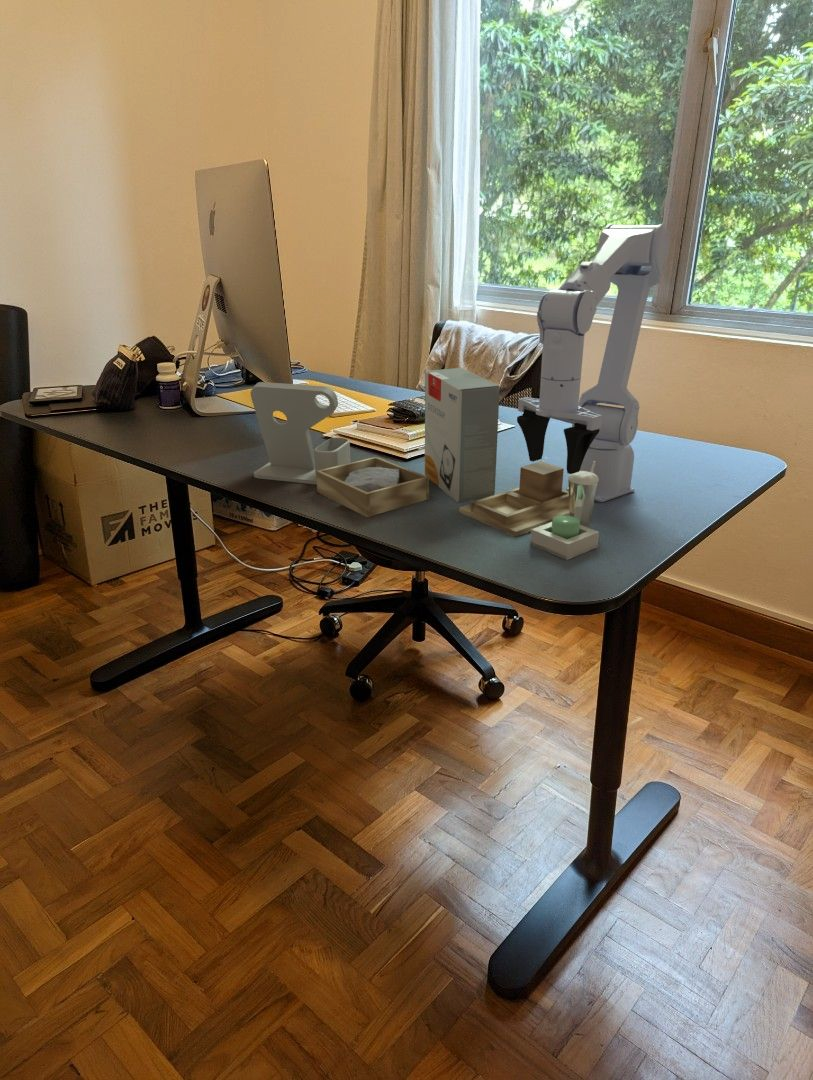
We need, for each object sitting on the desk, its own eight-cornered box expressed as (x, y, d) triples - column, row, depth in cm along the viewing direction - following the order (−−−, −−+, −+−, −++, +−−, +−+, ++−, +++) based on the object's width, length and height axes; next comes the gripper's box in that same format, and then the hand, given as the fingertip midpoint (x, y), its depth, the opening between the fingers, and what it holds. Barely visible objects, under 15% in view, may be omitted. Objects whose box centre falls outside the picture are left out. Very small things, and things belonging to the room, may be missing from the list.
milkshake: (601, 524, 119) (607, 464, 115) (584, 534, 115) (590, 473, 111) (576, 517, 122) (581, 458, 118) (558, 527, 118) (563, 466, 114)
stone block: (344, 516, 126) (401, 505, 125) (337, 490, 125) (395, 478, 124) (351, 494, 137) (404, 484, 136) (344, 470, 136) (398, 459, 135)
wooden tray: (376, 477, 141) (376, 456, 139) (428, 499, 130) (429, 477, 128) (317, 492, 133) (316, 470, 131) (367, 517, 122) (366, 494, 121)
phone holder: (356, 470, 145) (353, 377, 137) (336, 487, 136) (331, 388, 128) (275, 462, 149) (268, 371, 142) (250, 477, 141) (241, 382, 133)
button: (563, 528, 113) (564, 513, 112) (584, 536, 110) (585, 521, 109) (545, 535, 111) (546, 519, 110) (566, 543, 108) (567, 528, 107)
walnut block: (538, 494, 129) (541, 461, 127) (560, 502, 126) (563, 468, 123) (518, 500, 126) (520, 467, 124) (540, 509, 123) (543, 474, 120)
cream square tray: (561, 532, 116) (562, 518, 115) (597, 547, 111) (599, 531, 110) (530, 544, 112) (531, 529, 111) (566, 560, 107) (568, 544, 106)
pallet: (529, 490, 134) (530, 477, 133) (586, 510, 124) (588, 497, 123) (458, 512, 124) (459, 498, 123) (515, 536, 115) (516, 522, 114)
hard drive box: (423, 476, 141) (423, 370, 133) (459, 471, 143) (462, 367, 135) (456, 503, 128) (459, 387, 120) (496, 497, 130) (502, 383, 122)
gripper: (505, 372, 111) (501, 459, 117) (581, 389, 101) (573, 484, 106) (538, 366, 115) (533, 451, 121) (614, 382, 105) (605, 473, 110)
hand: (554, 466), depth 114 cm, fingers open, 7 cm apart
